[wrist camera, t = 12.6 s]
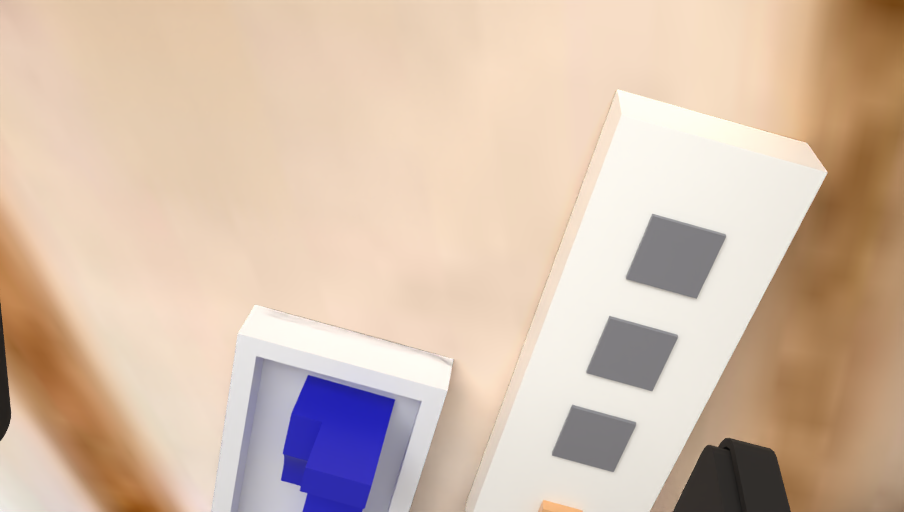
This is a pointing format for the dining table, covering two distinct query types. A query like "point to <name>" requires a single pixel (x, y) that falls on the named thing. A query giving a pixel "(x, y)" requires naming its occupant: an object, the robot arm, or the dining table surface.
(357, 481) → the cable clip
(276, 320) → the cable tray
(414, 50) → the dining table surface
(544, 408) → the power strip
